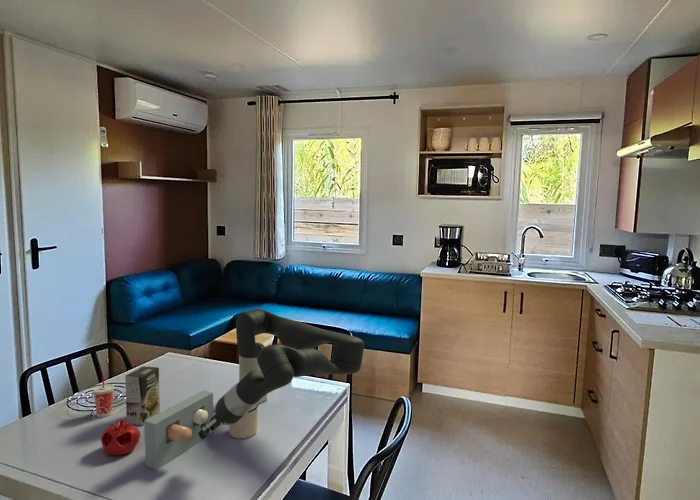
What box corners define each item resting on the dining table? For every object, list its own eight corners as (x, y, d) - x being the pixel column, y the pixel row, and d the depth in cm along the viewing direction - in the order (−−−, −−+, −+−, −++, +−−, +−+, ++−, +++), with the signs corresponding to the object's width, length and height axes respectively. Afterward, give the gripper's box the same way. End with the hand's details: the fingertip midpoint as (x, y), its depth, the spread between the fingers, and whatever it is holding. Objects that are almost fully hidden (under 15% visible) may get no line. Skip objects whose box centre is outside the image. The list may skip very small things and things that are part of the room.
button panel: (145, 466, 123) (144, 420, 121) (203, 429, 142) (203, 390, 141) (156, 470, 121) (154, 424, 119) (213, 432, 141) (213, 392, 139)
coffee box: (143, 425, 144) (142, 377, 142) (125, 423, 145) (124, 375, 143) (161, 412, 153) (159, 367, 151) (144, 410, 154) (142, 365, 152)
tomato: (114, 440, 135) (112, 411, 134) (146, 441, 135) (145, 411, 134) (94, 459, 125) (92, 426, 125) (129, 459, 125) (128, 427, 124)
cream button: (180, 421, 135) (180, 408, 135) (190, 415, 139) (190, 403, 138) (198, 426, 132) (198, 413, 132) (207, 420, 136) (207, 408, 135)
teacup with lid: (260, 424, 146) (260, 390, 145) (255, 439, 137) (255, 402, 136) (223, 424, 146) (222, 390, 144) (215, 439, 137) (215, 402, 135)
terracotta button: (162, 440, 125) (161, 426, 124) (173, 433, 128) (173, 420, 128) (181, 446, 122) (180, 432, 121) (192, 439, 125) (191, 425, 125)
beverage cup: (90, 415, 150) (88, 375, 148) (107, 408, 155) (105, 369, 154) (101, 420, 147) (99, 378, 146) (118, 412, 152) (117, 372, 151)
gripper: (229, 425, 111) (191, 459, 117) (260, 403, 123) (225, 435, 129) (212, 400, 112) (175, 435, 118) (244, 381, 124) (210, 414, 130)
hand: (201, 435), depth 124 cm, fingers closed
